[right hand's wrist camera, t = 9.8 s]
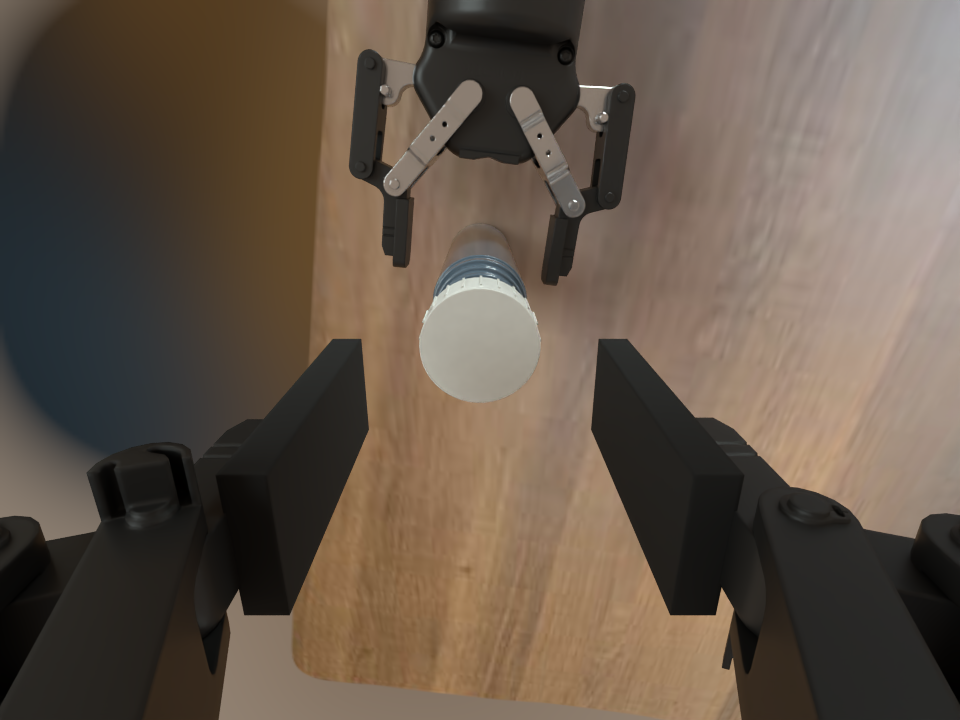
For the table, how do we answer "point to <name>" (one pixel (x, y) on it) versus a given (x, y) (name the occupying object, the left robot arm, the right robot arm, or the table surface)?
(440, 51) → the left robot arm
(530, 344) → the cap
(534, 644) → the table surface
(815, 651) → the right robot arm
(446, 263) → the bottle
